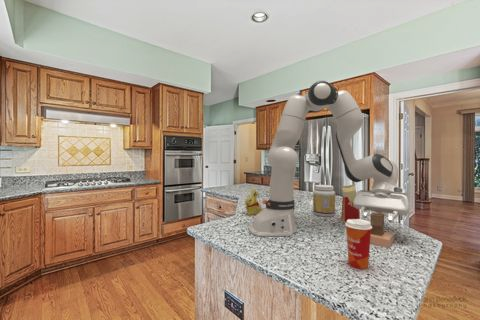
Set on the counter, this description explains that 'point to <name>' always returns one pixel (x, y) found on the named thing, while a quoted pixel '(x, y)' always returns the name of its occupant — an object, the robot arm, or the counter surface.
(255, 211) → the chocolate bunny
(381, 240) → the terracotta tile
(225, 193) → the counter surface
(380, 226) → the walnut block
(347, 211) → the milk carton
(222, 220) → the counter surface
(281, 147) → the robot arm
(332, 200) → the supplement tub
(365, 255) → the paper cup
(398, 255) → the counter surface
